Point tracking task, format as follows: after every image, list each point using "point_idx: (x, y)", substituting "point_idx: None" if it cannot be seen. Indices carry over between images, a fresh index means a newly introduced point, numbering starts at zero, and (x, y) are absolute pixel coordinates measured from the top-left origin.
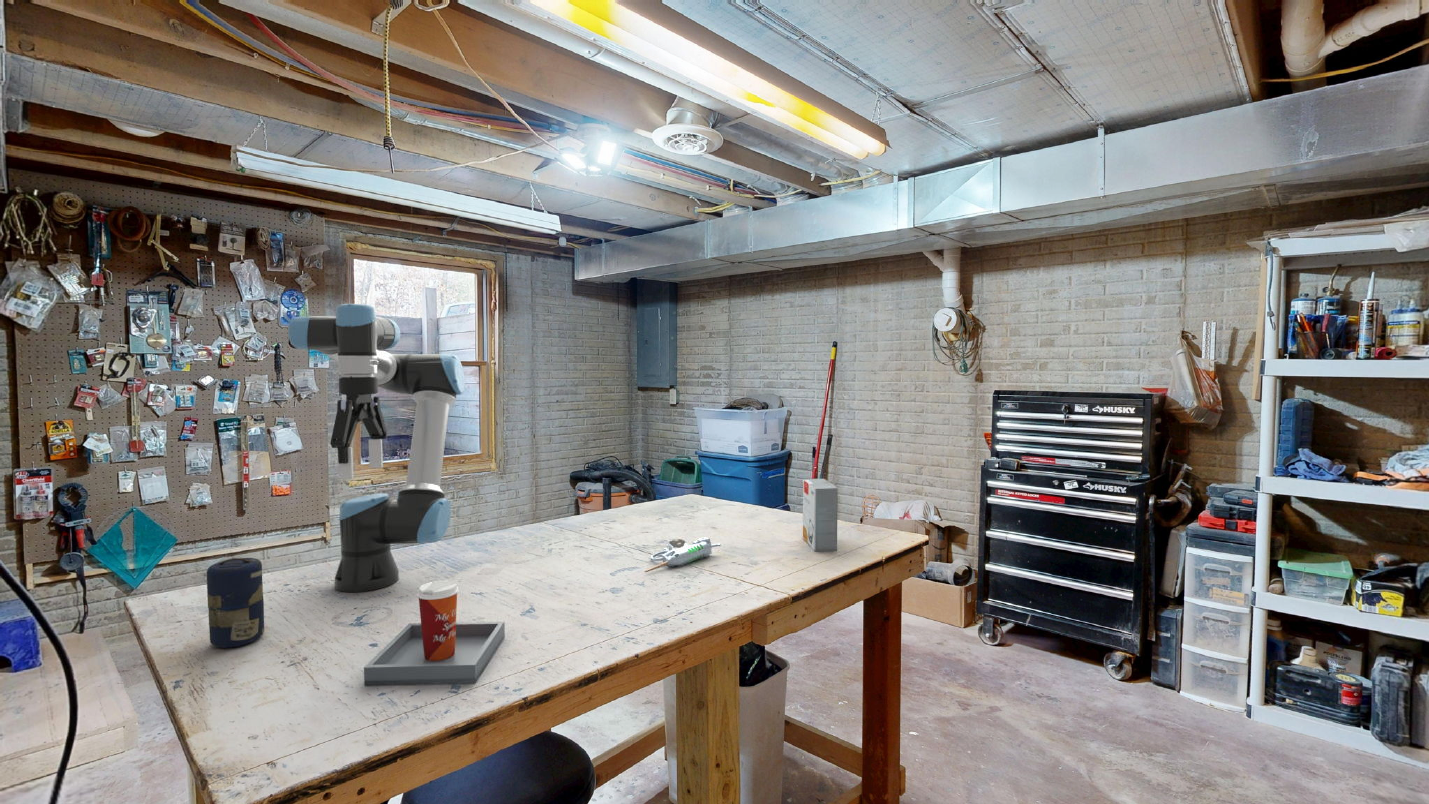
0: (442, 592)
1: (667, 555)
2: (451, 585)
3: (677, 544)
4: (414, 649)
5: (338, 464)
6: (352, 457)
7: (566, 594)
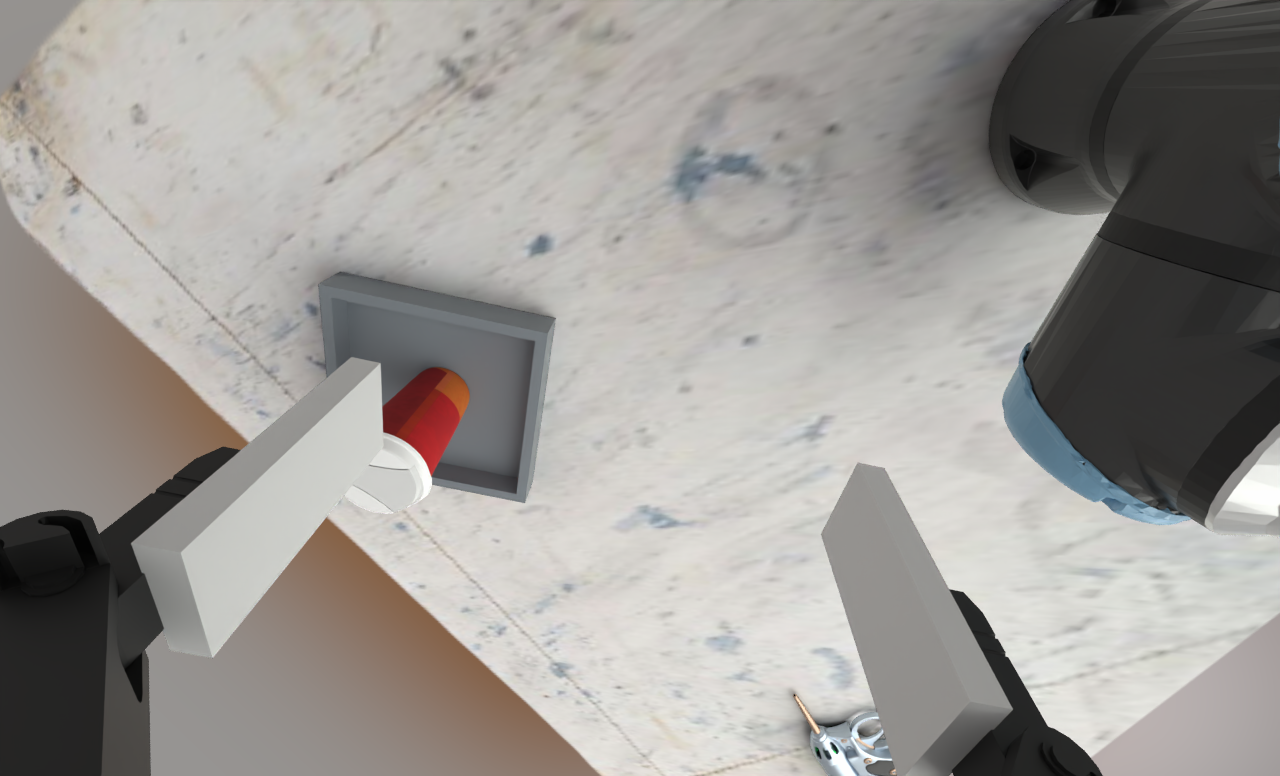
0: None
1: (849, 741)
2: (377, 506)
3: (892, 769)
4: (473, 343)
5: (274, 424)
6: (280, 564)
7: (732, 577)
